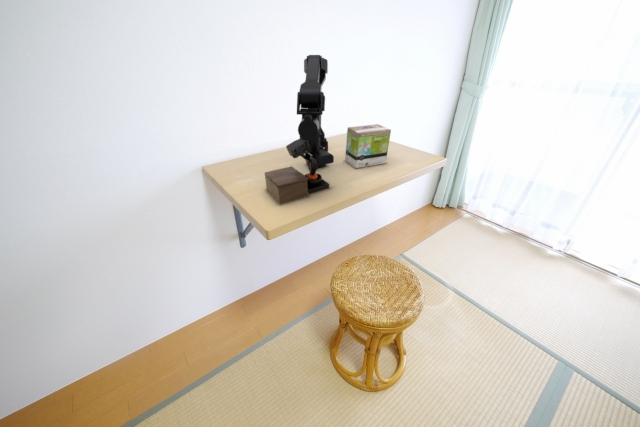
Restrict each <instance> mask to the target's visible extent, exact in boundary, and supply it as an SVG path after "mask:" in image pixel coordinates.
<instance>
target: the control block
mask: <svg viewBox="0 0 640 427" xmlns="http://www.w3.org/2000/svg"><path fill="white" fill-rule="evenodd" d="M315 173H316V174H317V177H318V178H317V179H308V180H307V189H308V195H310V194H315V193H317V192H321V191H324V190H329V189H330V183H329V182H327V181H326V180H324V179H323V178H322V175H321V174H320V173H317V172H315ZM308 174H309V173H306V174H303V175H304V176H306V177H307V175H308Z"/></svg>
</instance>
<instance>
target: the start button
mask: <svg viewBox="0 0 640 427" xmlns="http://www.w3.org/2000/svg"><path fill="white" fill-rule="evenodd" d="M316 173H317V172H315V174H314V175H311V174H310V172H309V173H307V174H308V175H307V178H308V179H317V178H318V177H317V174H318V173H317V174H316Z"/></svg>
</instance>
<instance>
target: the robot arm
mask: <svg viewBox="0 0 640 427" xmlns="http://www.w3.org/2000/svg"><path fill="white" fill-rule="evenodd" d="M303 72H304V74H305V79H304V80H305V81H304V82H302V83H301V84H300V85H299V86H300V87H299V91H297V93H296V94H297V95H296V115H299V116H301V120H300V122H299V124H298V127H297V134H298V136H299V138H298V139H295V140H293V141H292V142H290V143H289V144H287V145H286V146H285V148H286V151H287V152H288V154H289V156H290V157H292V159H297V158H299V157H301V158H302V159H304V160H305V162H306V166H307V169H308V171H309V173H310V174H311V175H314V174H315V173H317V171H318V169H321V168H324V167H327V165H328V164H329V165H330V164H333V163H334V160H335V156H334V155H333V154H332V153H330V152H329V141H328V140H327V137H326V134H325V131H324V130H323V128H322V116H323V112H325V111H326V109H325V108H326V95H325V92H324V91H323V90H322V89H323V88H322V87H323V85H324V83H325V82H326V79H327V74H328V73H329V62H328V59H326V58H325V57H323V55H320V54H308V55H306V58H305V59H304V60H303Z"/></svg>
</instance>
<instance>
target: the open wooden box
mask: <svg viewBox="0 0 640 427" xmlns="http://www.w3.org/2000/svg"><path fill="white" fill-rule="evenodd" d="M264 179H265V187H266V191H267V192H268V193H269V194H270V196H272V197H273V199H274V200H275V201H276V202H277V203H278V204H279V205H283V204H287V203H290V202H293V201H297V200H300V199H301V200H302V199H304V198H307V197H309V193H308V189H307V180H305V181H301V182H297V183H293V184H289V185H285V186H281V187H278V186H277V185H276V184H275V183H274V182H273V181H272V180H271V179H270V178H269V177H267V176H266V175H265V174H264Z"/></svg>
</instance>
